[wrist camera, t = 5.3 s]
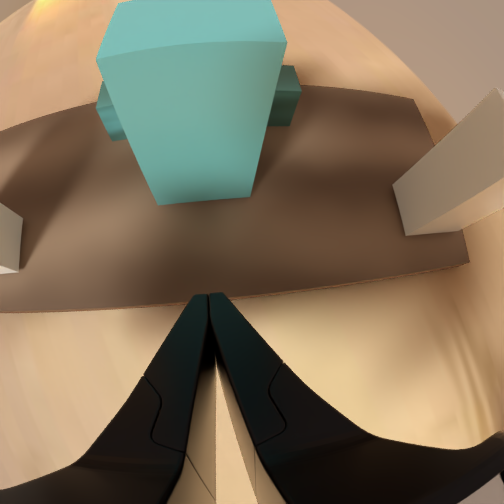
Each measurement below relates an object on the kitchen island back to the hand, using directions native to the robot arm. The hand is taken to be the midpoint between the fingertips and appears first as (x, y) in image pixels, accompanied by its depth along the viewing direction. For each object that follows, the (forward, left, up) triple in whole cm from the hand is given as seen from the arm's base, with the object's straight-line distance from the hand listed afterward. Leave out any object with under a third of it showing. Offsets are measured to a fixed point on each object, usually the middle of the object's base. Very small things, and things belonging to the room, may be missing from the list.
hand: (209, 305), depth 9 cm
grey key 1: (+12, -5, -4) cm, 14 cm away
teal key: (+4, +5, -4) cm, 8 cm away
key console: (+4, +5, -6) cm, 9 cm away
